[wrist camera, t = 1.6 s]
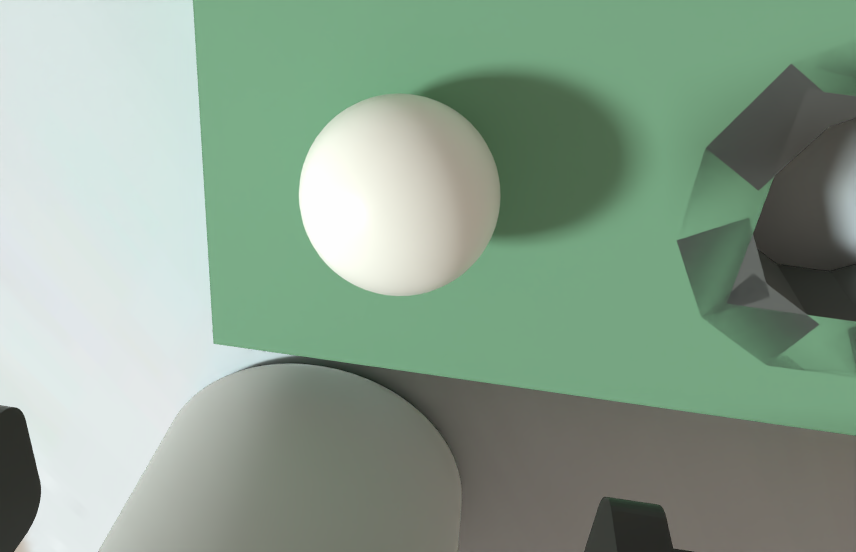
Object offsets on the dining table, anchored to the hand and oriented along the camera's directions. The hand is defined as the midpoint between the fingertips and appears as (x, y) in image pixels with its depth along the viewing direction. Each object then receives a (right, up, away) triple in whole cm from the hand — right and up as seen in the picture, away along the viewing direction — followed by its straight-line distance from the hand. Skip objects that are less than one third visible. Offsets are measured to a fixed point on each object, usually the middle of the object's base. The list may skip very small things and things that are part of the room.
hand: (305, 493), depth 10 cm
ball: (+1, +5, +8) cm, 10 cm away
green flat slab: (+8, +7, +13) cm, 17 cm away
